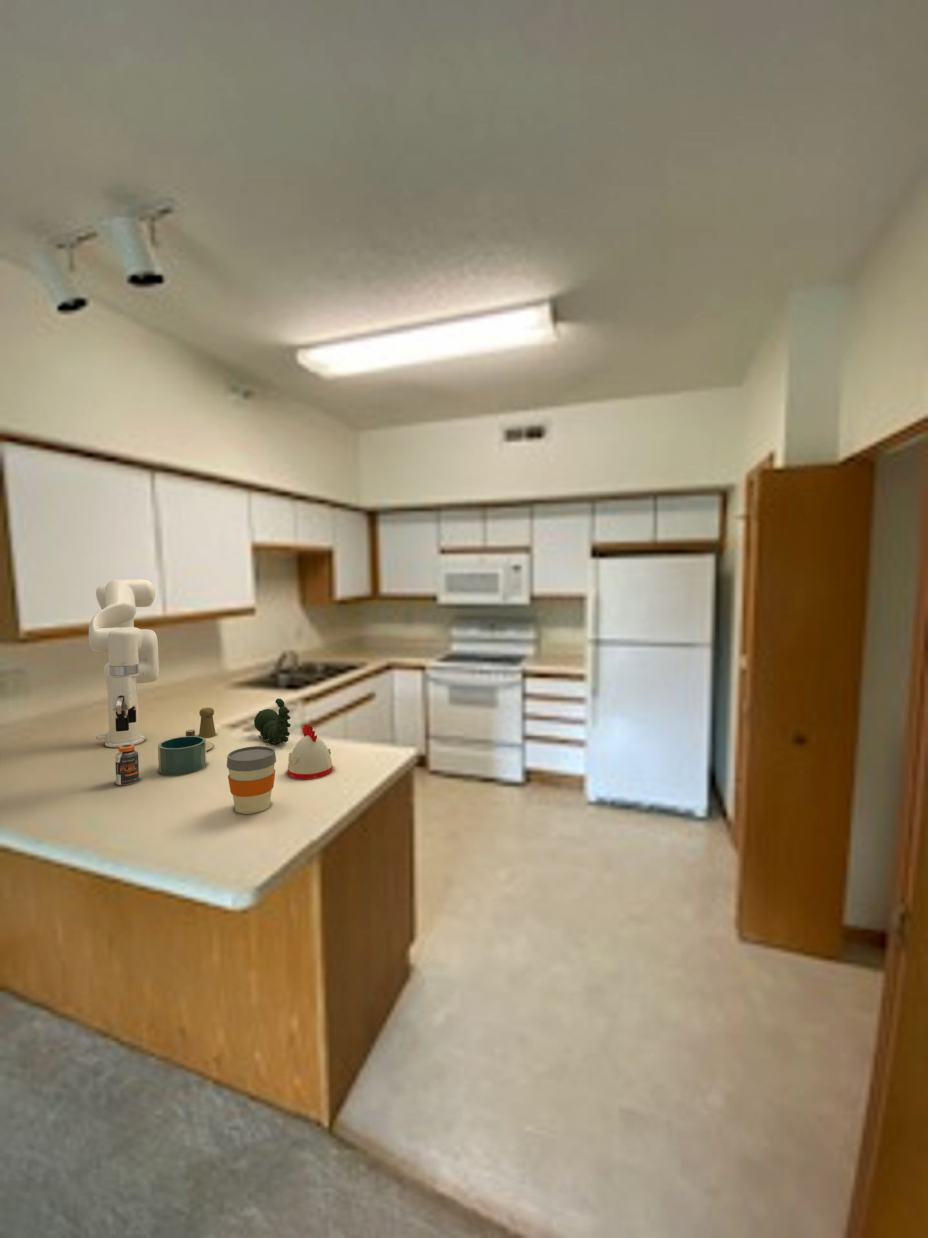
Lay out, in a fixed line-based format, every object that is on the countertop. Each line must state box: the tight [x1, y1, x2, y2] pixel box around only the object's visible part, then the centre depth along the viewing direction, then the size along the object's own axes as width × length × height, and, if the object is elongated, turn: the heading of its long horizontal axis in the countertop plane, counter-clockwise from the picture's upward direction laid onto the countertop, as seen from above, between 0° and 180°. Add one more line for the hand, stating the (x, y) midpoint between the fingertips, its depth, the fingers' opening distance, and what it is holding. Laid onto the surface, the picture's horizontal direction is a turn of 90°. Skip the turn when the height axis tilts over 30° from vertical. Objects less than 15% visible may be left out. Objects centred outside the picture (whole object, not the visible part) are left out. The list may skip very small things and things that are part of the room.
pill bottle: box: [114, 744, 140, 786], centre depth 160 cm, size 6×6×11 cm
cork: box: [198, 707, 217, 739], centre depth 207 cm, size 6×6×11 cm
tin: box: [157, 735, 207, 776], centre depth 172 cm, size 14×14×8 cm
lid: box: [185, 729, 214, 752], centre depth 190 cm, size 15×15×7 cm
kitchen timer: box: [287, 724, 333, 780], centre depth 170 cm, size 14×14×15 cm
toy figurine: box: [253, 698, 292, 745], centre depth 202 cm, size 9×19×25 cm
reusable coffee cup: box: [226, 745, 277, 815], centre depth 144 cm, size 13×13×15 cm
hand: (126, 726), depth 159 cm, fingers open, 9 cm apart
